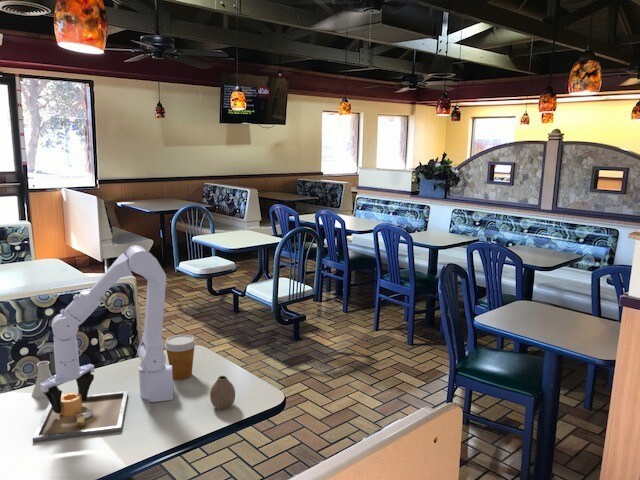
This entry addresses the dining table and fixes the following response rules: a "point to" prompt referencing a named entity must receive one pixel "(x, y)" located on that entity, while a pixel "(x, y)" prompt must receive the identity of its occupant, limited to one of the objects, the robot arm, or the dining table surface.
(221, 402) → the vase
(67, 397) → the gear
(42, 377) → the flask
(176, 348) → the disposable coffee cup
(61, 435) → the square tray
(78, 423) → the carrier pin
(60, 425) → the carrier plate
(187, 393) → the dining table surface
